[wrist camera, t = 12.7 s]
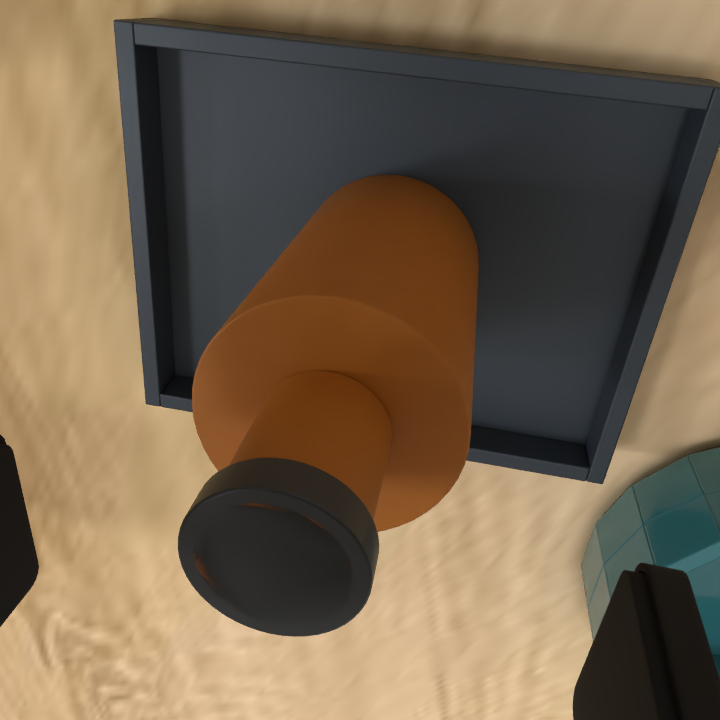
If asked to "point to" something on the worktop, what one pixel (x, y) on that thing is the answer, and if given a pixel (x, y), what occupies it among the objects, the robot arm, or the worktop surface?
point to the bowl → (663, 537)
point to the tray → (439, 169)
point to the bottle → (334, 406)
